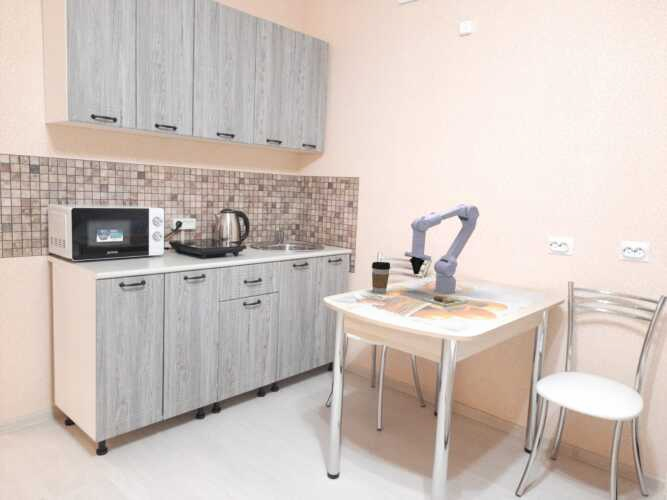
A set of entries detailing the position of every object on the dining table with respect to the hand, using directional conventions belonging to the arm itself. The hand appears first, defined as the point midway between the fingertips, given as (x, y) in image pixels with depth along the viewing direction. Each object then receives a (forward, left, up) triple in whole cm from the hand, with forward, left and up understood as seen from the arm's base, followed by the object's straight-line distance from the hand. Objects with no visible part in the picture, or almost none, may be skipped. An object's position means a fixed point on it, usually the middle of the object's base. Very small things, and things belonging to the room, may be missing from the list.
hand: (416, 274), depth 232 cm
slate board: (+2, +6, -10) cm, 12 cm away
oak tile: (+2, +21, -10) cm, 23 cm away
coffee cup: (+15, -8, -10) cm, 20 cm away
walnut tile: (+2, +17, -10) cm, 19 cm away
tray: (+2, +19, -10) cm, 22 cm away
